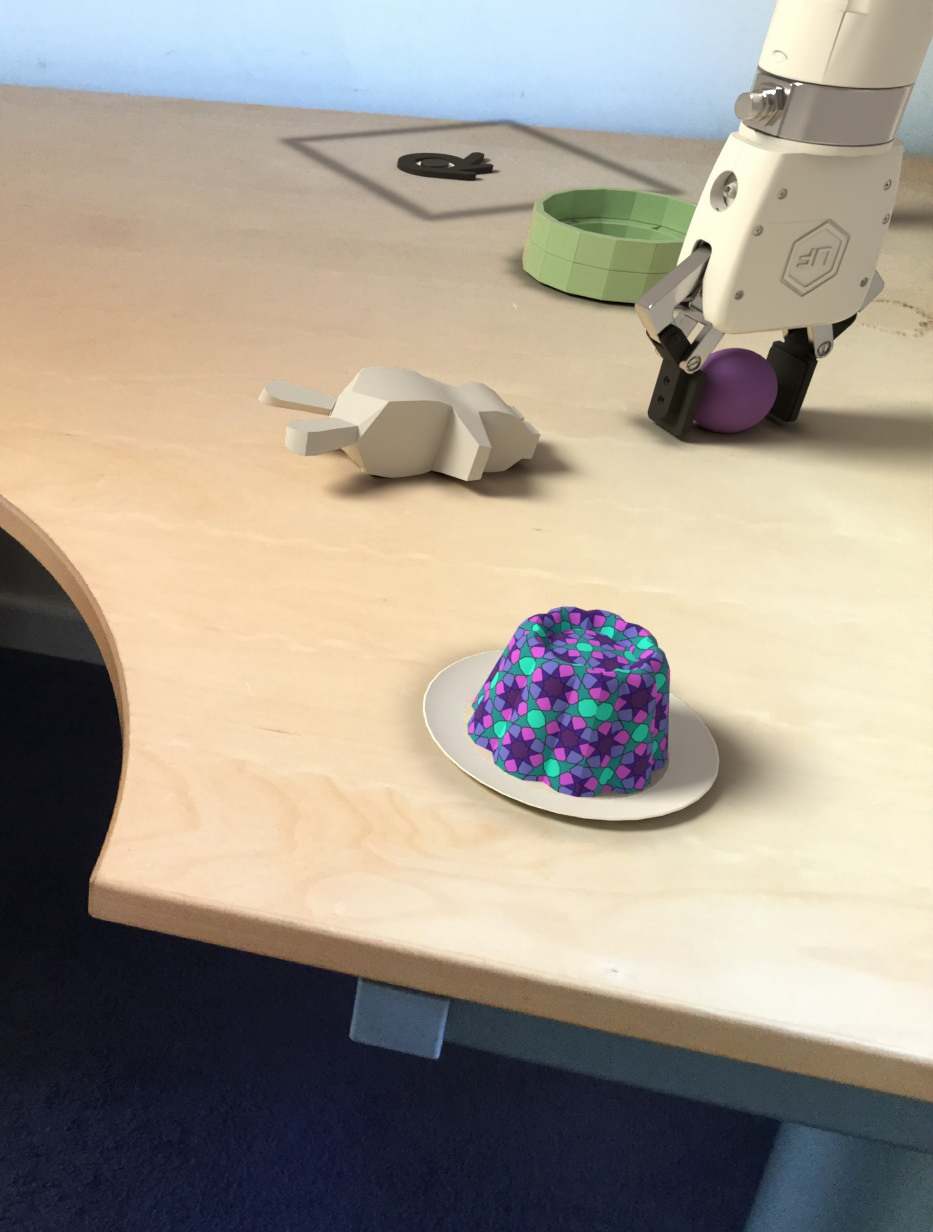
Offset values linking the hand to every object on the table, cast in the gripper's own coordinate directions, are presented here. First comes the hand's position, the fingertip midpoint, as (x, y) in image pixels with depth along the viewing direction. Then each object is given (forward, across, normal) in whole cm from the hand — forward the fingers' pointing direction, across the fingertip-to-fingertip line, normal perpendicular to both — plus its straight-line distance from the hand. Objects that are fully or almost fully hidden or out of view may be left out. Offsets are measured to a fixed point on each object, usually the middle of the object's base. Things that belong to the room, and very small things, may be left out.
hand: (721, 417), depth 85 cm
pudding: (+1, -27, -25) cm, 37 cm away
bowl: (+1, +10, +24) cm, 26 cm away
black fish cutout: (+1, +15, +54) cm, 56 cm away
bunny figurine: (+1, -21, +1) cm, 21 cm away
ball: (+1, 0, 0) cm, 1 cm away
